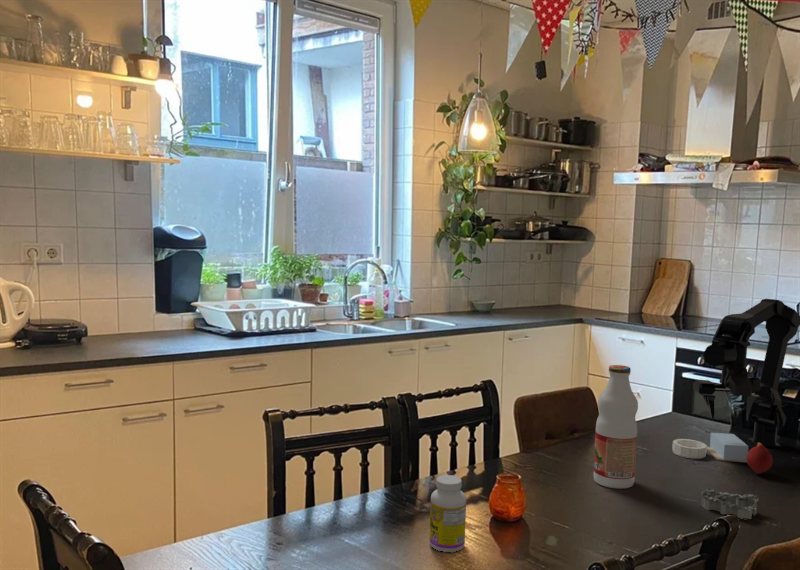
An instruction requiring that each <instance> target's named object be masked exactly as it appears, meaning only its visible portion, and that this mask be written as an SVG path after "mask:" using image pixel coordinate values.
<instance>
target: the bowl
mask: <svg viewBox="0 0 800 570" xmlns="http://www.w3.org/2000/svg"><path fill="white" fill-rule="evenodd" d="M707 446H708V445H707V444H706V443H704V442H702V441H699V440H695V439H689V438H687V439H686V438H677V439H674V440H673V441H672V446H671V447H672V448H671V449H672V454H674V455H676V456H678V457H681V458H686V459H693V460H700V459H701V460H702V459H706V457H707V453H708V451H707Z"/></svg>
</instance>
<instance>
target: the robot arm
mask: <svg viewBox="0 0 800 570" xmlns="http://www.w3.org/2000/svg"><path fill="white" fill-rule="evenodd" d="M764 322H765V330H766V332H767V335H768V341H767V342H768V343H767V347H766V351H765V355H764V361H763V365H762V370H761V375H760V377H753V376H751V377H749V375H748V369H747V368H746V367H747V355H748V352H747V351H748V347H750V346H751V344H752V343H750V341H749V340H750V338H751V337H752V336H753V335H754V334H755V333H756V330H755V329H756V328H757V327H758V326H760V325H761V324H763V323H764ZM799 327H800V314H799V313H798V312H797V310H796V309H794V308H792V307H790V306H788V305H786V304H785V303H784V301H782V300H779V299H772V298H763V299H761V300H760V302H759V303H756V305H753V306H752V307H750V308H748V309H747V310H744V311H743V312H741V313H731V314H727V315H725V316H724V317H723V318H722V320H721V321H720V322H719V325H718V326H717V329H716V331H715V332H714V335H713V337H712V340H711V344H710V345H707V346H706V348H705V349H704V351H703V358H704V360H705V362H706V363H707V365H709V366H711V367H720V369H721V375H720V376H721V378H719V383H720V384H719V383H715V382H712V381H711V380H708V379H705V380H704V379H695V381H693V387H692V389H693V391H695V392H697V393H698V394H700V395H701V396H702V398H703V399H704V402H705V404H706V408H707V410H708V413H709V416H710V419H712V420H714V419H715V400H716V398H717V397H716V396H717V395H715V392H727V393H728V392H729V393H731V395H732V396H735V397H740V396H743V397H744V396H745V397H747V398H746V405H745V411H746V413H745V417H746V419H745V420H746V422H750V421H751V422H754V428H753V437H748V440H749V441H750V442H752V444H754V445H756V446H757V443H761V444H762V445H763V446H764V447H772V448H781V447H782V446H781V444H780V443H778V442H777V433H778V428H783V427H784V426H785V424H786V422H787V416H786V415H785V412H784V411H783V409H782V403H783V402H782V399H781V396H780V394H779V391H778V389H779V385H780V380H781V376H782V371H783V366H784V362H785V357H786V353H787V349H788V343H789V341H791V340H792V339H793V338H795V336H796V335H797V333H798V330H799Z"/></svg>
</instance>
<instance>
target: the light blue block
mask: <svg viewBox="0 0 800 570" xmlns="http://www.w3.org/2000/svg"><path fill="white" fill-rule="evenodd" d="M709 442H710V443H709V447H711V448H712V449H713V450H714V451H715V452H716V453H717V454H718V455H719V456H720V457H721V458H722V459H724V460H738V461H747V453H748V452H749V445H748V444H746V443H745V442H744V441H743V440H742V439H740V438H739V437H738V436H737V435H735V434H734V433H723V432H722V433H721V432H710V440H709Z"/></svg>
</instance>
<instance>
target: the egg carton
mask: <svg viewBox="0 0 800 570" xmlns="http://www.w3.org/2000/svg"><path fill="white" fill-rule="evenodd" d="M700 494H701V500H700V506H701V507H703V509H704V510H706V511H717V512H719V513H720V514H721V515H723V516H724V514H726V515H725V516H727V515H729V514H733V515H732V516H734V515H736V516H737V517H738V518H741V519H743V518H748V519H751V520H752V518H753V517H752V516H756V515H757V512H758V511H757V510H758V504H757V502H758V501H759V499H760V496H759V495H755V494H750V493H744V494H743V495H741V494H739V493H735V494H733V493H729V492H724V491H717V492H716V490H715V489H712V488H709V489H708V488H707V489H706V490H702V492H700ZM752 514H753V515H752ZM755 514H756V515H755ZM736 516H735V517H736ZM737 517H736V518H737Z"/></svg>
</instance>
